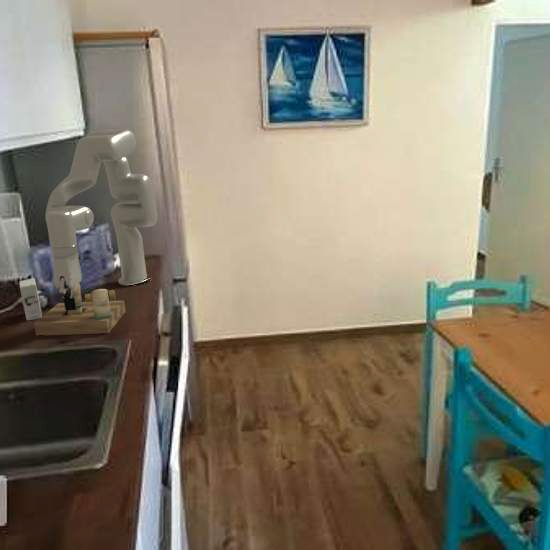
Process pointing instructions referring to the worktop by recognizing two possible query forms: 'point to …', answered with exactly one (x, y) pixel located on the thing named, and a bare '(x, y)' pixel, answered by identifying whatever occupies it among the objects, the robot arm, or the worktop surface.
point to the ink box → (30, 299)
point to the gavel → (110, 295)
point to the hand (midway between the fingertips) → (74, 306)
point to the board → (82, 317)
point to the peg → (76, 300)
